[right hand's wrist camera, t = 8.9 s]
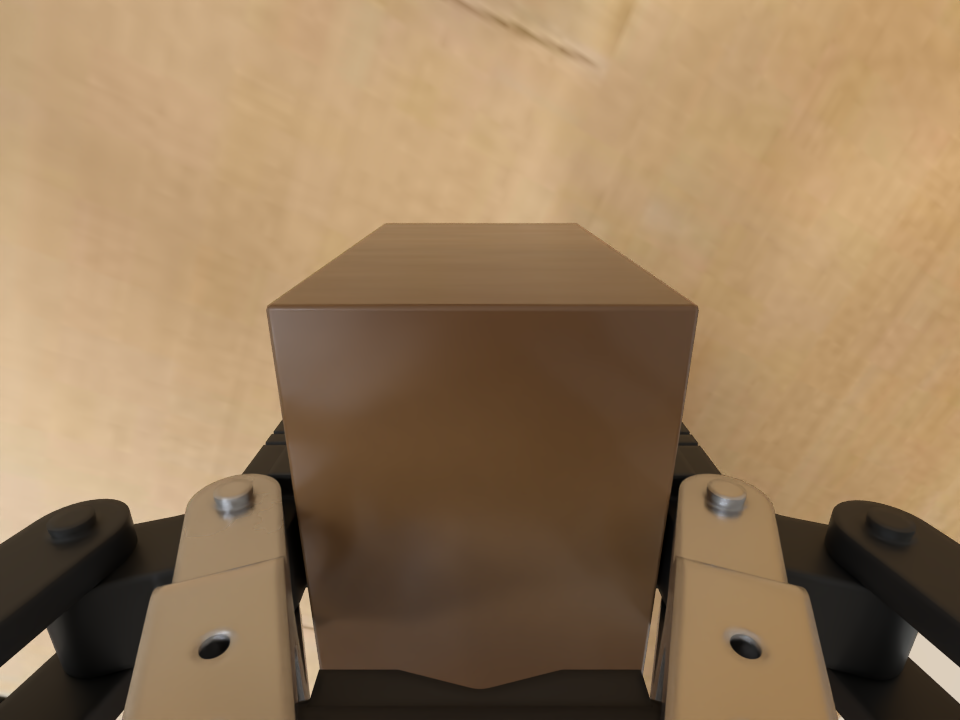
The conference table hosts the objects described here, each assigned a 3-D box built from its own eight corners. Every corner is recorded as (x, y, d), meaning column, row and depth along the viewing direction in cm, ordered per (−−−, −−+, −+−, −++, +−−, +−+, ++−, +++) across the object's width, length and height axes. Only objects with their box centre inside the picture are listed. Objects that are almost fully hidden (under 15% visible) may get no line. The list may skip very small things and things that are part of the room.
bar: (383, 223, 14) (263, 305, 6) (578, 222, 14) (702, 305, 6) (418, 774, 22) (384, 1112, 14) (542, 775, 22) (576, 1112, 14)
